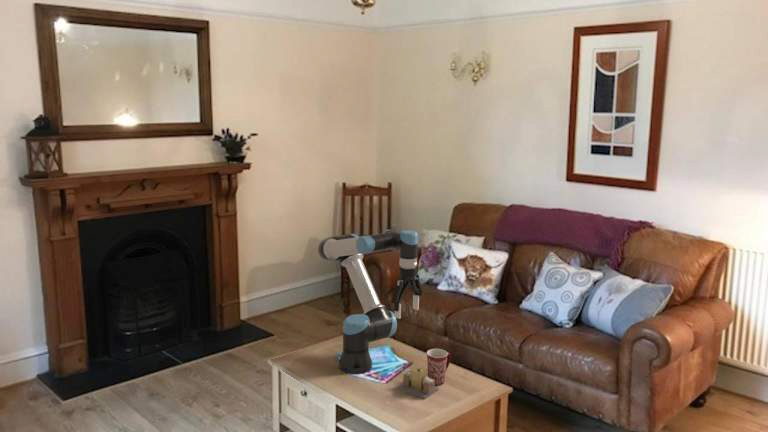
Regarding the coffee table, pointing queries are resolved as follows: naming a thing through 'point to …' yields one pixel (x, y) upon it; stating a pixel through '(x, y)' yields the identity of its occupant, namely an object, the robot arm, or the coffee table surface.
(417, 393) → the shaft bench
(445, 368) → the mug
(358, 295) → the robot arm
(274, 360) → the coffee table surface
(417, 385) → the coupler
